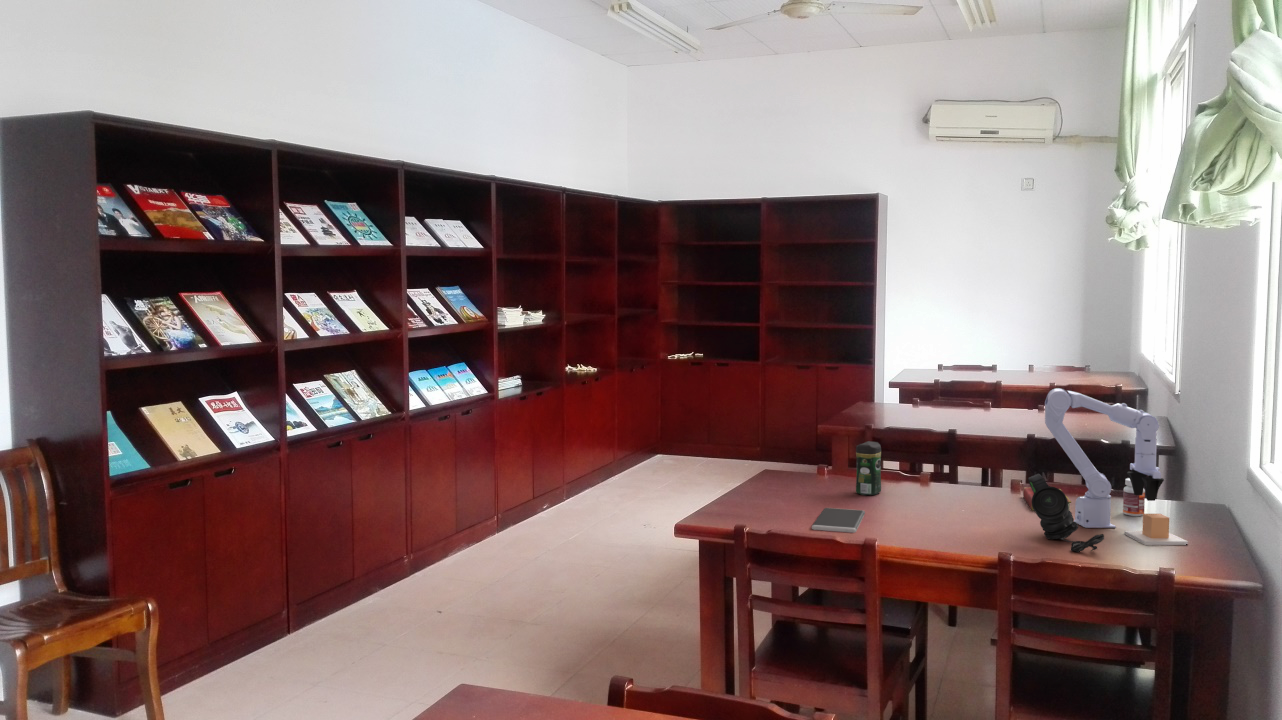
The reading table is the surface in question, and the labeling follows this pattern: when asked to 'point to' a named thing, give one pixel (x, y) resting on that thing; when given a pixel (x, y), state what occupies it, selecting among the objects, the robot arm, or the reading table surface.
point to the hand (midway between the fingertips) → (1144, 497)
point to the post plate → (1155, 539)
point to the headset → (1056, 514)
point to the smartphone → (839, 520)
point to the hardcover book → (1029, 494)
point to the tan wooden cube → (1155, 526)
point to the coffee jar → (868, 468)
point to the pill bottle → (1132, 500)
